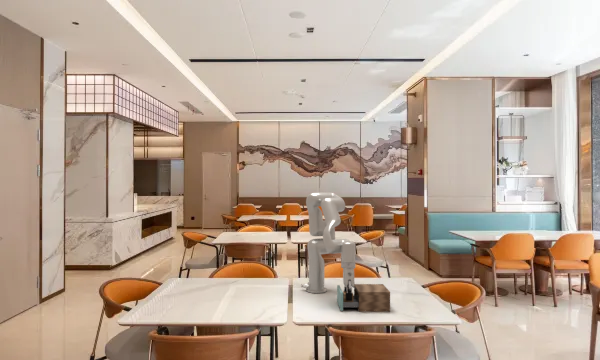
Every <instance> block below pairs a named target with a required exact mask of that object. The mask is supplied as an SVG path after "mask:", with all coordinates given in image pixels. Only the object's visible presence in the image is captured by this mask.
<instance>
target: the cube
mask: <svg viewBox="0 0 600 360" xmlns="http://www.w3.org/2000/svg"><path fill="white" fill-rule="evenodd" d="M342 292H343V302H353V295H354V291H352V301H346V293H347V292H344V291H342Z"/></svg>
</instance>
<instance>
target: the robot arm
mask: <svg viewBox="0 0 600 360" xmlns="http://www.w3.org/2000/svg"><path fill="white" fill-rule="evenodd" d="M344 200H345V199H343V197H341V196H339V195H337V194H336V193H335V192H331V191H329V192H326V191H325V192H324V191H322V192H321V191H317V192H311V193H309V194H308V195H307V196H306V199H305V205H306V209H307V213H308V230H309V234H310V236H311V237H320V238H313V239H309V241H308V242H307V253H308V282H307V283H301V285H300V286H301V288H303V289H304V288H305V291H306V292H308V293H311V294H325V293H326V292H328V289H327V287H325V260H324V258H323V256H322V255H326V254H327V255H328V254H332V255H333V254H341V255H340V259H341V260H340V261H341V262H340V266H341V268H342V269H343V270H342V280H343V281H342V282H343V285H344V287H343V292H347V293H346V301H352V292H353V289H354V287H355V284H356V283H355V269H356V249H357V248H356V242H354V241H351V240H349V239H347V238H339V239H336V231H335V230H336V229H335V228H336V227H338V226H339V225H340V224H341V222H342V220H341V217H340V213H341V212H343V211H344V210H345V209H346V203H345V201H344ZM320 207H321V209H320ZM321 237H322V238H321Z"/></svg>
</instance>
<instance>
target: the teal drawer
mask: <svg viewBox="0 0 600 360" xmlns="http://www.w3.org/2000/svg"><path fill="white" fill-rule="evenodd" d="M343 292H344V291H343V290H342V288H341V286H340V284H337V285H336V303H337V305H338V308H339V310H340V312H342V311H344V308H357V307H359V295H354V294H353V302H343Z"/></svg>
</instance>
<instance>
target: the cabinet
mask: <svg viewBox="0 0 600 360" xmlns="http://www.w3.org/2000/svg"><path fill="white" fill-rule="evenodd" d="M353 295H359V307H356V308H357V311H358V312H359V313H360V312H362V313H363V312H365V313H366V312H368V313H370V312H371V313H372V312H375V313H376V312H377V313H379V312H381V313H382V312H384V313H385V312H389V313H390V312H391V291H390V290H389V289H388V288H387V287H386V285H384V284H383V283H355V287H354V288H353Z"/></svg>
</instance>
